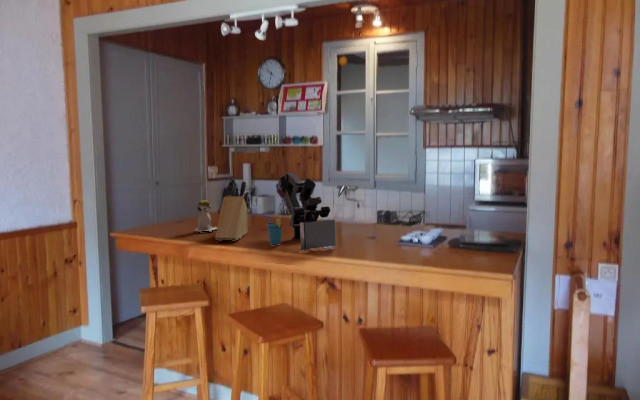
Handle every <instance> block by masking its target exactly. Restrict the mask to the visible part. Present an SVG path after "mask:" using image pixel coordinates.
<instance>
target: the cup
mask: <svg viewBox="0 0 640 400" xmlns="http://www.w3.org/2000/svg"><path fill="white" fill-rule="evenodd" d="M261 216H262V217H263V218H264V217H267V220H268V223H266V227H267V233H268V240H269V245H270V244H272V245H277V244H280V243H281V244H282V229H283V228H282V227H283V223H282V219H281V218H280V217H277V218H275V221H274V222H271V218H270V215H269V214H263V215H261Z"/></svg>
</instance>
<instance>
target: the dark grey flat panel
mask: <svg viewBox="0 0 640 400" xmlns="http://www.w3.org/2000/svg"><path fill="white" fill-rule="evenodd" d="M335 223H336V221H335V218H331V219H330V218H329V219H323V220H322V219H321V220H317V221H310V222H301V223H300V238H301V239H300V249H301V250H305V249H308V250H309V249H313V248H321V247H328V246H332V247H334V246H336V224H335Z"/></svg>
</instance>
